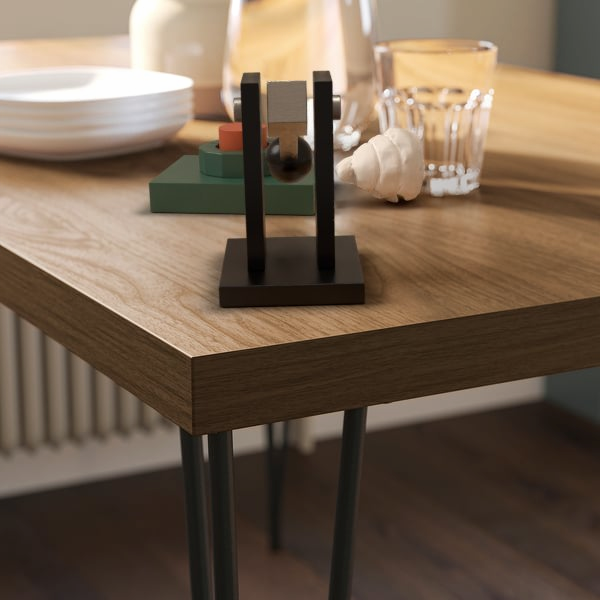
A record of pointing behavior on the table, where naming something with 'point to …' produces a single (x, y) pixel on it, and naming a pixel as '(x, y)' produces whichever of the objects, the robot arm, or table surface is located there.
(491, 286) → the table surface
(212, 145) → the button block
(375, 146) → the spiral seashell
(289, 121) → the lever
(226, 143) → the button
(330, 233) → the bracket
